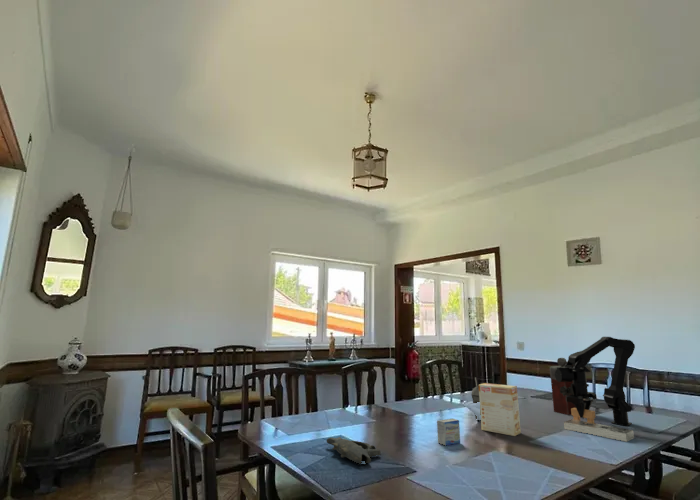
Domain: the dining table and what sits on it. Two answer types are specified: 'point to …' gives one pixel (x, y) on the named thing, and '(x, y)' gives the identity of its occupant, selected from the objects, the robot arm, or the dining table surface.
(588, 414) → the tan stepped block
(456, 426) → the medicine box
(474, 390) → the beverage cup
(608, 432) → the rail
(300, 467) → the dining table surface
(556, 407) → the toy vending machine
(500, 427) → the coffeecake box
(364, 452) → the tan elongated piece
